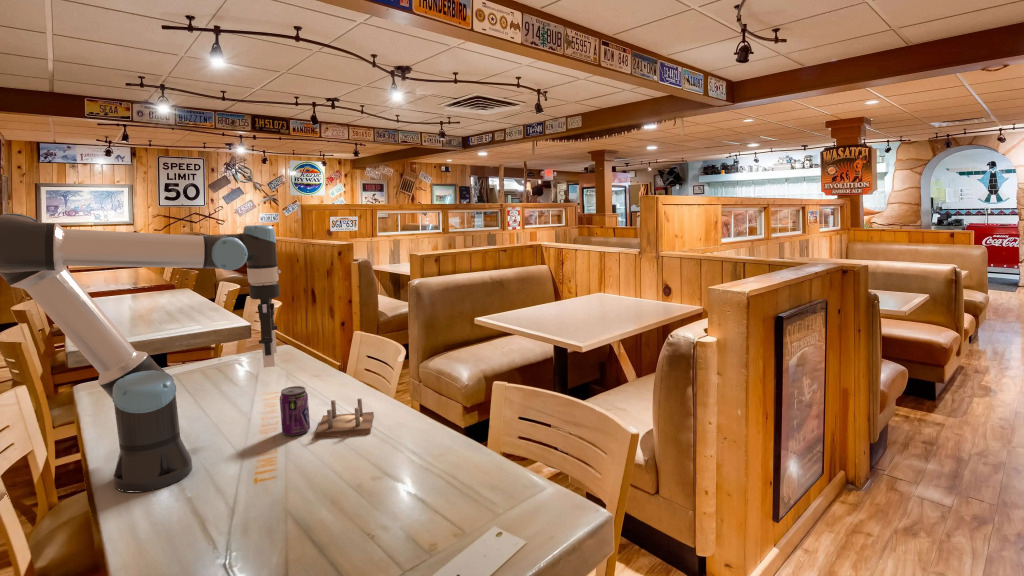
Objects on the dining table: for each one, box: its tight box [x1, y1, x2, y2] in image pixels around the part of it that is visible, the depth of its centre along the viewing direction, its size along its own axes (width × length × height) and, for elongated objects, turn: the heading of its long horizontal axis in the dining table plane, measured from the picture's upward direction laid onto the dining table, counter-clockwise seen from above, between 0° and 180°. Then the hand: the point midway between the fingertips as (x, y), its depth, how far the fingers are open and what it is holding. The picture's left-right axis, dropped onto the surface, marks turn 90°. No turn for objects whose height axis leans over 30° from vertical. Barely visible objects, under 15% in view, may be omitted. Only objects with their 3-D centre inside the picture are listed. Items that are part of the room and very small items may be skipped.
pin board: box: [315, 397, 375, 439], centre depth 155 cm, size 12×14×6 cm
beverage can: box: [279, 385, 311, 437], centre depth 151 cm, size 7×7×12 cm
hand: (270, 359), depth 153 cm, fingers open, 13 cm apart
